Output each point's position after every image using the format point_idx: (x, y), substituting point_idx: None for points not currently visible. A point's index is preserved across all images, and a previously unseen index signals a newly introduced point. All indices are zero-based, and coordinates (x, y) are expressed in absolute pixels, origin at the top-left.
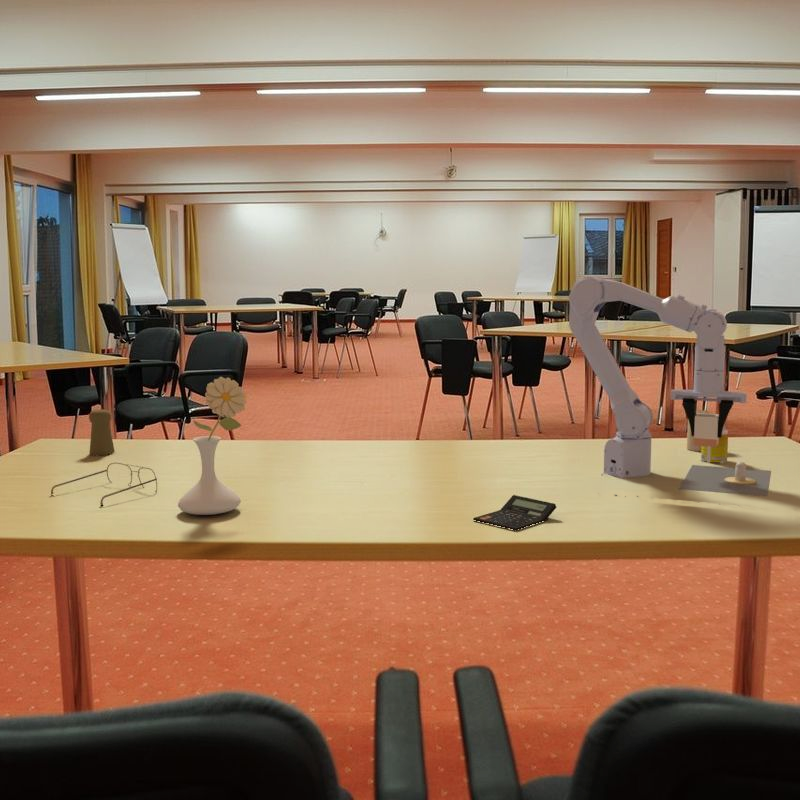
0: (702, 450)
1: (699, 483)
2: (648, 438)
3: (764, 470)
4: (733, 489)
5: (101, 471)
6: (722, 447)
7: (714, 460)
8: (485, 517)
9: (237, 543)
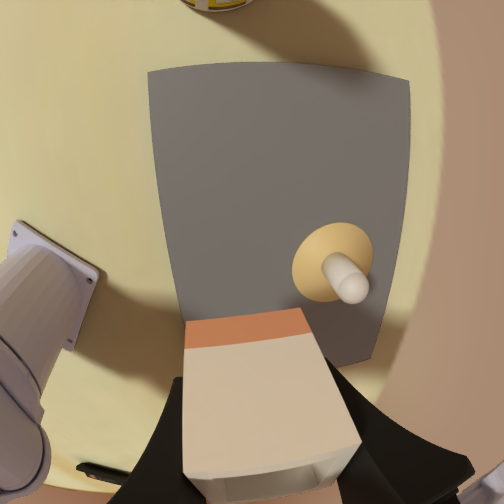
0: None
1: None
2: (38, 385)
3: (394, 81)
4: None
5: None
6: None
7: (225, 4)
8: (92, 476)
9: (50, 485)
